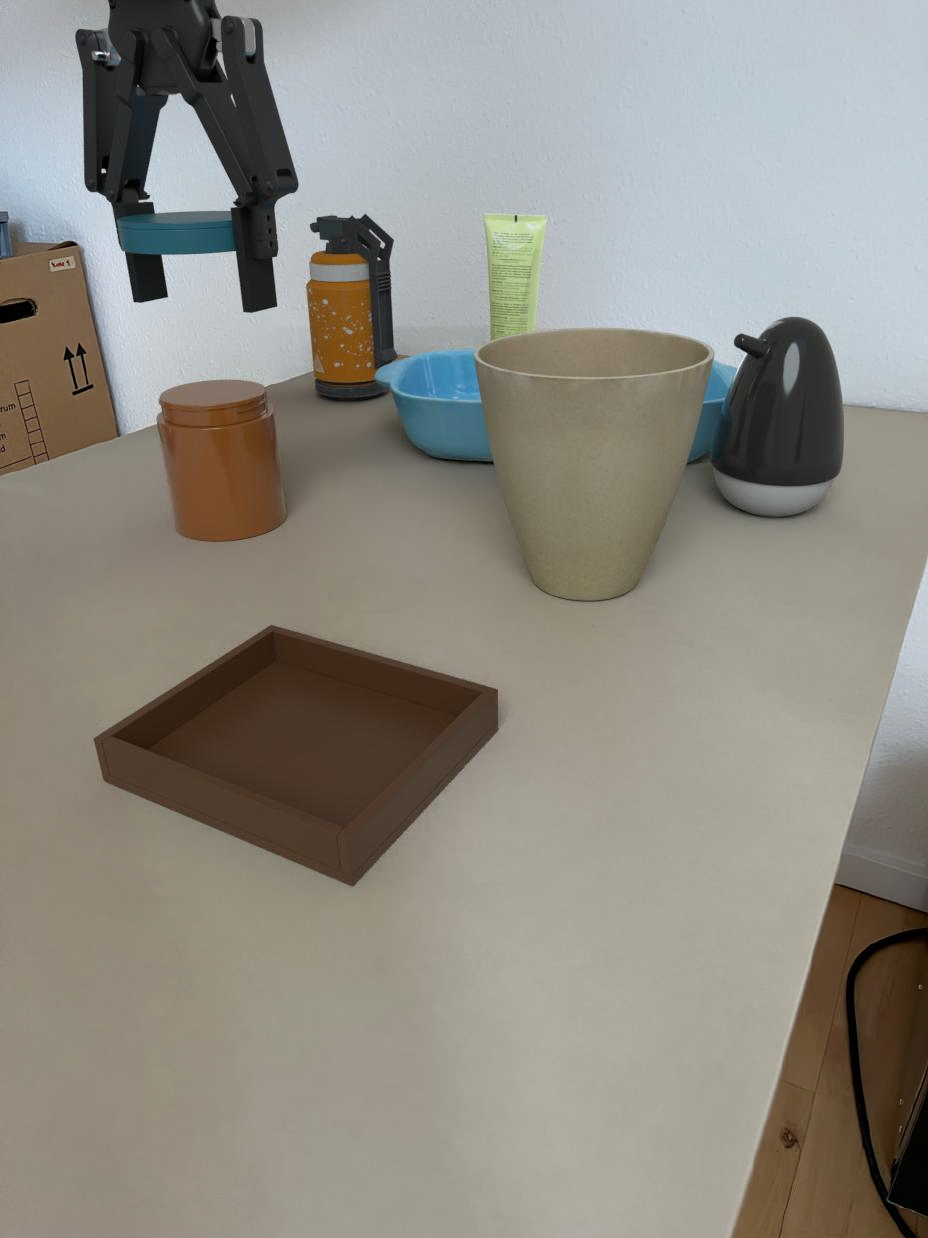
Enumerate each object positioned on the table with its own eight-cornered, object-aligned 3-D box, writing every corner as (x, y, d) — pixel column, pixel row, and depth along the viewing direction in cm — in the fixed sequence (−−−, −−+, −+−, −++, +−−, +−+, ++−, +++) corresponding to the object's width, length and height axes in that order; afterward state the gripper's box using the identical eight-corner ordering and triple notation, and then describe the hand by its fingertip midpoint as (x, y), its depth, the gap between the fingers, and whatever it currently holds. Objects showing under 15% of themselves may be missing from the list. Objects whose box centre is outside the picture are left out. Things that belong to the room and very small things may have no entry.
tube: (526, 380, 117) (528, 210, 108) (543, 389, 113) (547, 213, 104) (484, 384, 116) (483, 212, 107) (500, 394, 112) (500, 216, 102)
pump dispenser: (678, 496, 80) (696, 312, 73) (776, 478, 84) (802, 301, 77) (756, 538, 72) (784, 335, 65) (860, 516, 76) (898, 321, 69)
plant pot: (647, 530, 74) (663, 320, 66) (725, 616, 61) (756, 368, 53) (460, 546, 72) (455, 331, 64) (500, 638, 59) (500, 384, 51)
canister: (350, 380, 119) (338, 208, 109) (419, 392, 113) (412, 212, 104) (300, 396, 112) (282, 215, 103) (370, 409, 107) (358, 219, 97)
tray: (103, 781, 47) (92, 738, 45) (275, 662, 57) (270, 624, 55) (352, 887, 40) (348, 839, 39) (498, 730, 50) (498, 689, 49)
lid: (90, 250, 64) (84, 220, 63) (194, 236, 71) (191, 209, 70) (195, 257, 59) (190, 225, 58) (295, 241, 66) (292, 212, 65)
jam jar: (151, 528, 76) (126, 398, 71) (227, 494, 83) (210, 373, 78) (235, 549, 72) (216, 413, 67) (308, 511, 79) (295, 384, 74)
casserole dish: (726, 411, 104) (733, 345, 100) (768, 478, 84) (779, 399, 81) (395, 409, 106) (392, 345, 103) (360, 474, 87) (355, 397, 83)
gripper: (337, -96, 54) (363, 306, 65) (71, -56, 64) (131, 287, 75) (251, -120, 49) (295, 325, 59) (-27, -73, 58) (53, 302, 69)
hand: (204, 304), depth 67 cm, fingers closed on lid, 10 cm apart
